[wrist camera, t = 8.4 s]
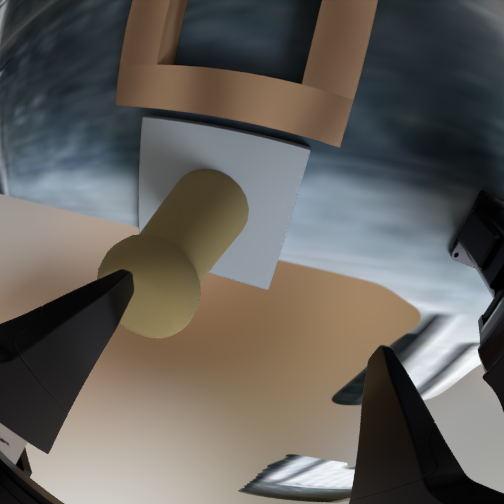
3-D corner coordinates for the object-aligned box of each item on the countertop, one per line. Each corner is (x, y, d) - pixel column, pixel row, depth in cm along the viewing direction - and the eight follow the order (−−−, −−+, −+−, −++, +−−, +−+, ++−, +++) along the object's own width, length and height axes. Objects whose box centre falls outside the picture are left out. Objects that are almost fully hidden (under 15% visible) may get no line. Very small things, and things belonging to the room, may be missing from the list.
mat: (310, 147, 17) (310, 150, 17) (270, 282, 24) (268, 289, 23) (149, 115, 18) (142, 117, 17) (145, 245, 25) (140, 251, 24)
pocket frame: (379, -41, 8) (387, -54, 6) (336, 140, 17) (339, 147, 15) (172, -60, 9) (156, -71, 7) (134, 101, 18) (115, 105, 16)
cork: (157, 198, 21) (64, 287, 12) (212, 151, 18) (112, 228, 9) (206, 254, 23) (145, 363, 14) (265, 218, 20) (222, 340, 11)
